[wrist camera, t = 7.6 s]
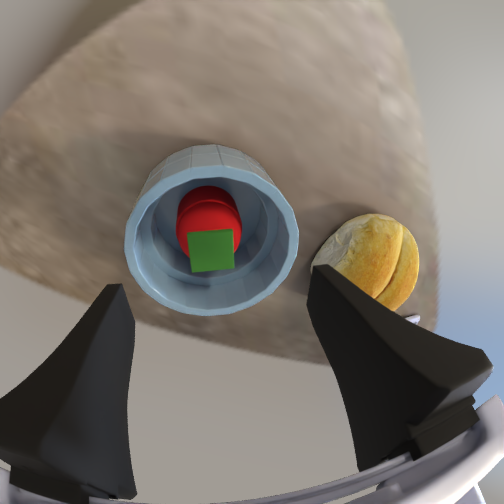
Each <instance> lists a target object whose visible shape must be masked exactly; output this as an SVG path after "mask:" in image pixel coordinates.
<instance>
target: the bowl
mask: <svg viewBox="0 0 504 504" xmlns="http://www.w3.org/2000/svg"><path fill="white" fill-rule="evenodd" d="M200 186H216V187H219V188H222V189H224V190H225V191H227V192H228V193H229V194H230V195H231V196H232V197H233V199H234V200H235V203H236V205H237V209H238V212H239V215H240V218H241V221H242V234H241V240H240V243H239V246H238V248H237V250H236V251H235V252H234V269H225V270H214V271H204V272H193V273H192V271H191V264H190V258H189V257H188V256H187V255H186V254H185V253H184V252H183V250H182V249H181V247H180V244H179V241H178V239H177V236H176V220H177V210H178V206H179V203H180V201H181V200H182V198H183V197H184V196H185V195H186V194H187V193H188V192H189V191H191V190H193V189H195V188H197V187H200ZM298 239H299V230H298V226H297V222H296V219H295V215H294V211H293V209H292V207H291V206H290V204H289V203H288V202H287V200H286V199H285V197H284V196H283V195H282V193H281V192H280V190H279V189H278V188H277V186H276V185H275V183H274V182H273V181H272V179H271V178H270V177H269V175H268V174H267V173H266V171H265V170H264V169H263V167H262V166H261V165H260V164H259V163H258V162H257V161H256V160H254V159H253V158H251V157H250V156H248V155H247V154H245V153H244V152H242V151H239V150H237V149H233V148H229V147H226V146H222V145H216V144H212V145H198V146H192V147H188V148H186V149H183V150H181V151H178V152H176V153H174V154H171V155H170V156H168V157H167V158H166V159H164V160H163V161H162V162H161V163H160V164H159V165H158V166H157V167H155V168H154V169H153V170H152V171H151V173H150V174H149V176H148V178H147V180H146V181H145V183H144V185H143V187H142V189H141V191H140V193H139V195H138V197H137V200H136V202H135V204H134V206H133V209H132V211H131V214H130V216H129V218H128V221H127V224H126V230H125V239H124V252H125V256H126V260H127V264H128V267H129V271H130V273H131V274H132V276H133V277H134V279H135V280H136V281H137V283H138V284H139V286H140V287H141V289H142V290H143V291H144V292H145V293H147V294H148V295H149V296H151V297H152V298H153V299H154V300H156V301H157V302H158V303H160V304H162V305H163V306H166V307H168V308H171V309H173V310H176V311H178V312H181V313H185V314H192V315H200V316H214V315H224V314H229V313H230V314H231V313H234V312H237V311H240V310H243V309H245V308H248V307H251V306H253V305H255V304H256V303H258V302H259V301H261V300H262V299H264V298H265V297H267V296H269V295H270V294H271V293H273V291H274V290H275V289H276V288H277V287H278V286H279V285H280V284H281V283H282V282H283V280H284V279H285V278H286V276H287V275H288V273H289V271H290V269H291V267H292V265H293V263H294V261H295V258H296V256H297V248H298Z"/></svg>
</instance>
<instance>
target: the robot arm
mask: <svg viewBox="0 0 504 504" xmlns="http://www.w3.org/2000/svg"><path fill="white" fill-rule="evenodd" d="M306 305H307V308H308V312H309V315H310V318H311V321H312V325H313V327H314V330H315V332H316V334H317V336H318V338H319V341H320V343H321V345H322V347H323V349H324V351H325V354H326V356H327V358H328V360H329V362H330V365H331V367H332V369H333V371H334V374H335V376H336V379H337V382H338V385H339V388H340V391H341V394H342V397H343V401H344V405H345V408H346V412H347V416H348V419H349V424H350V428H351V433H352V437H353V441H354V447H355V453H356V460H357V467H358V469H359V473H356V474H353V475H351V476H348V477H345V478H342V479H339V480H336V481H332V482H329V483H325V484H322V485H318V486H315V487H311V488H307V489H303V490H299V491H295V492H290V493H285V494H280V495H275V496H270V497H264V498H258V499H251V500H244V501H235V502H226V503H212V504H323V503H327V502H330V501H333V500H336V499H339V498H342V497H345V496H348V495H351V494H354V493H357V492H359V491H362V490H365V489H367V488H370V487H372V486H375V485H377V484H379V483H380V484H379V485H378V486H377V488H376V491H375V492H372V493H370V494H368V495H365V496H362V497H360V498H357V499H355V500H352V501H350V502H348V503H345V504H486V503H485V501H484V498H483V497H482V494H481V491H480V489H479V487H478V485H477V483H478V482H479V481H480V480H481V479H482V478H483V477H484V476H485V475H486V474H487V473H488V472H489V471H490V470H491V469H492V468H493V467H494V466H495V465H496V464H497V463H498V462H499V460H501V459H502V458H503V457H504V405H503V403H502V401H501V400H500V398H499V397H498V395H494V396H493V397H492V398H490V399H489V400H488V401H487V402H485V403H484V404H482V405H481V406H480V407H478V408H477V409H476V410H474V408H473V406H472V405H473V404H474V403H475V399H474V397H473V396H472V395H473V393H475V391H476V390H477V389H478V388H479V387H480V386H481V385H482V384H483V383H484V382H485V381H486V379H487V378H488V377H489V375H490V374H491V373H492V371H493V365H492V363H491V362H490V360H489V359H488V357H487V356H486V354H485V353H484V351H483V350H482V349H479V348H475V347H471V346H468V345H464V344H461V343H458V342H455V341H452V340H449V339H447V338H444V337H441V336H439V335H437V334H434V333H432V332H430V331H428V330H426V329H424V328H422V327H420V326H418V325H417V324H418V322H419V320H420V316H419V315H414V316H410V317H407V318H403V317H401V316H400V315H398V314H396V313H395V312H393V311H391V310H390V309H388V308H387V307H385V306H384V305H382V304H381V303H379V302H378V301H377V300H375V299H374V298H372V297H371V296H370V295H368V294H367V293H365V292H364V291H363V290H361V289H360V288H359V287H358V286H356V285H355V284H354V283H352V282H351V281H350V280H348V279H347V278H346V277H345V276H343V275H342V274H341V273H339V272H338V271H337V270H335V269H334V268H333V267H331V266H330V265H328V264H322V265H313V269H312V275H311V281H310V287H309V293H308V299H307V304H306ZM134 342H135V320H134V317H133V315H132V312H131V309H130V306H129V303H128V300H127V297H126V294H125V291H124V288H123V285H122V283H121V284H108V285H107V286H106V287H105V288H104V289H103V290H102V292H101V293H100V294H99V296H98V297H97V298H96V299H95V301H94V302H93V303H92V305H91V306H90V307H89V309H88V310H87V311H86V313H85V314H84V315H83V317H82V318H81V319H80V321H79V322H78V323H77V324H76V326H75V327H74V328H73V329H72V331H71V332H70V333H69V334H68V335H67V337H66V338H65V339H64V340H63V342H62V343H61V344H60V345H59V346H58V347H57V348H56V349H55V351H54V352H53V353H52V354H51V355H50V356H49V357H48V358H47V359H46V360H45V361H44V362H43V363H42V364H41V365H40V366H39V367H38V368H37V369H36V370H35V371H34V372H33V373H31V374H30V375H29V376H28V377H27V378H26V379H25V380H24V381H23V382H21V383H20V384H19V385H18V386H17V387H15V388H14V389H13V390H11V391H10V392H9V393H8V394H6V395H5V396H3V397H2V398H1V399H0V459H1V460H3V461H4V462H6V463H8V464H9V465H11V471H8V470H5V469H3V468H1V467H0V504H145V503H133V502H123V501H114V500H109V498H110V499H118V498H119V499H128V500H131V499H133V498H134V497H135V496H136V495H137V491H136V486H135V481H134V476H133V471H132V465H131V458H130V449H129V438H128V423H127V422H128V421H127V420H128V419H127V399H128V389H129V381H130V373H131V366H132V359H133V352H134Z"/></svg>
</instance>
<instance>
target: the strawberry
mask: <svg viewBox="0 0 504 504" xmlns="http://www.w3.org/2000/svg"><path fill="white" fill-rule="evenodd" d="M241 234H242V221H241V218H240V215H239V212H238V209H237V205H236V203H235V200H234V199H233V197H232V196H231V195H230V194H229V193H228V192H227V191H225V190H224V189H222V188H219V187H216V186H200V187H197V188H195V189H193V190H191V191H189V192H188V193H187V194H186V195H185V196H184V197H183V198H182V200H181V201H180V203H179V206H178V210H177V220H176V236H177V239H178V241H179V244H180V247H181V249H182V250H183V252H184V253H185V254H186V255H187V256H188V257H189V258H190V264H191V271H192V273H193V272H204V271H214V270H225V269H234V252H235V251H236V250H237V248H238V246H239V243H240V240H241Z"/></svg>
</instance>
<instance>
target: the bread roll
mask: <svg viewBox="0 0 504 504" xmlns="http://www.w3.org/2000/svg"><path fill="white" fill-rule="evenodd" d="M322 264H328V265H330V266H331V267H333V268H334V269H335V270H337V271H338V272H339V273H341V274H342V275H343V276H345V277H346V278H347V279H348V280H350V281H351V282H352V283H354V284H355V285H356V286H358V287H359V288H360V289H361V290H363V291H364V292H365V293H367V294H368V295H370V296H371V297H372V298H374V299H375V300H377V301H378V302H379V303H381V304H382V305H384V306H385V307H387V308H388V309H390V310H391V311H395V310H396V309H397V308H398V307H399V306H401V305H402V304H403V303H404V302H405V301H406V299H407V298H408V297H409V295H410V294H411V292H412V291H413V289H414V286H415V284H416V281H417V276H418V271H419V254H418V249H417V245H416V242H415V240H414V238H413V236H412V235H411V233H410V232H409V230H408V229H407V228H406V227H404V226H403V225H401V224H400V223H399V222H397V221H396V220H395V219H393V218H392V217H389V216H386V215H382V214H365V215H361V216H357V217H355V218H353V219H351V220H349V221H347V222H345V223H344V224H343V225H342V226H341V227H340V228H339V229H338V230H337V231H336V232H335V233H334V234H333V235H332V236H330V237H329V238H328V239H327V241H326V242H325V243H324V245H323V246H322V247H321V249H320V250H319V252H318V253H317V254H316V256H315V258H314V260H313V262H312V264H311V269H310V270H311V275H312V269H313V265H322Z"/></svg>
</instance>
